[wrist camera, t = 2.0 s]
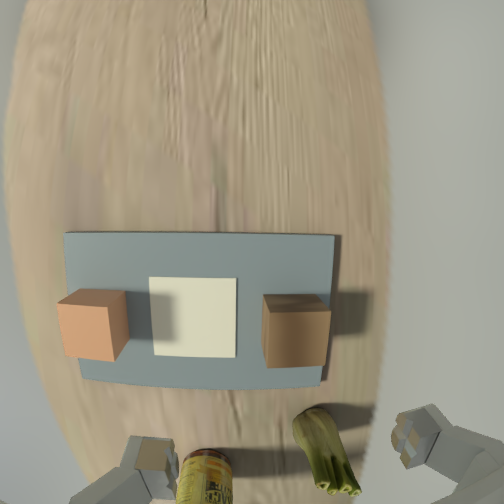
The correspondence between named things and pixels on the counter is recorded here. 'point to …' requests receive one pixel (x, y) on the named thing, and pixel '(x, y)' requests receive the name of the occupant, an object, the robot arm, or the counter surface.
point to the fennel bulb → (325, 452)
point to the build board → (198, 302)
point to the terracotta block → (94, 324)
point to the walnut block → (294, 330)
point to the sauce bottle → (205, 479)
